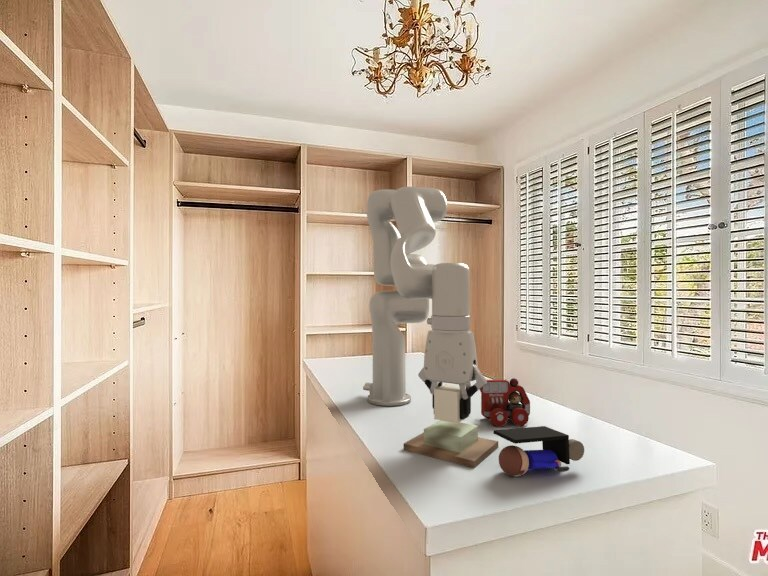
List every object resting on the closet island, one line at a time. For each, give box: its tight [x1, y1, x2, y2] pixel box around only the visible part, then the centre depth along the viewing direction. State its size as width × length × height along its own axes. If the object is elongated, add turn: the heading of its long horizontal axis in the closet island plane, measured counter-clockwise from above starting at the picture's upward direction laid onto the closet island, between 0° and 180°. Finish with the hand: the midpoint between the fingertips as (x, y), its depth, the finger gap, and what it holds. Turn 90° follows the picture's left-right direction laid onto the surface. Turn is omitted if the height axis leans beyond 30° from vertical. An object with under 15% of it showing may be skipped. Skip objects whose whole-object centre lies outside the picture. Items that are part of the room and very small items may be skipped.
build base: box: [403, 420, 499, 469], centre depth 84 cm, size 15×12×4 cm
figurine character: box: [492, 425, 585, 478], centre depth 74 cm, size 7×8×15 cm
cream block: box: [433, 383, 469, 423], centre depth 84 cm, size 5×5×6 cm
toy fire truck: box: [478, 377, 531, 428], centre depth 101 cm, size 7×12×10 cm, turn 97°
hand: (451, 414), depth 84 cm, fingers closed on cream block, 5 cm apart
